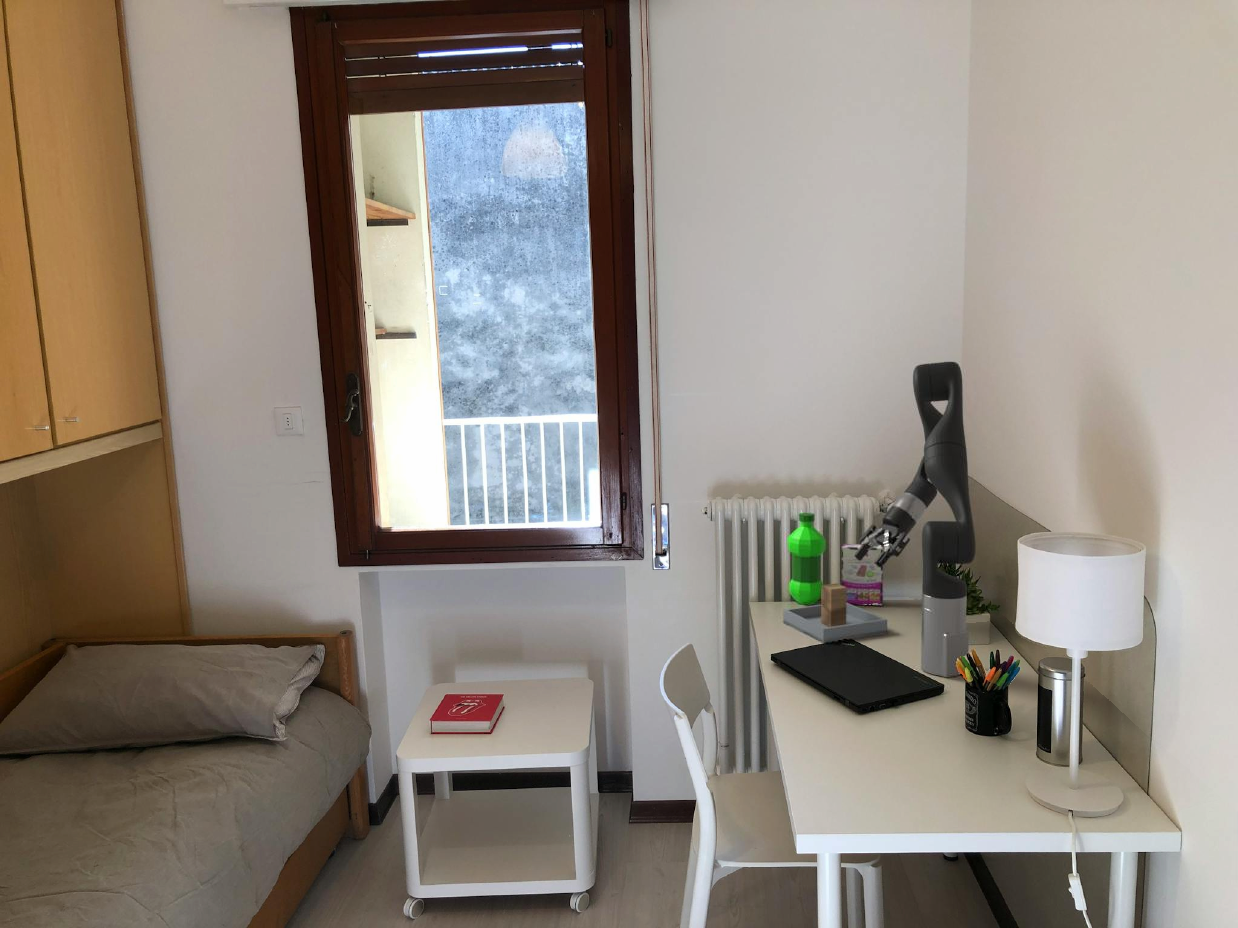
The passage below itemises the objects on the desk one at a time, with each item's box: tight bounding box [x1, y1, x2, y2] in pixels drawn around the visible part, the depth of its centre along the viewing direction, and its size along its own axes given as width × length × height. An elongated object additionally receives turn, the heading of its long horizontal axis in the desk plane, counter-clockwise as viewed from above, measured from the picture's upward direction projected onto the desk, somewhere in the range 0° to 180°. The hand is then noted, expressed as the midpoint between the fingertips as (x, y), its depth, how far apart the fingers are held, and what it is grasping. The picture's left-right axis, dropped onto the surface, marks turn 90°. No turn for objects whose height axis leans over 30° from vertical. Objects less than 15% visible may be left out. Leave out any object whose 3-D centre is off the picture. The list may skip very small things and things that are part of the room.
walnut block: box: [820, 583, 847, 627], centre depth 239 cm, size 4×4×10 cm
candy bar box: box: [841, 543, 884, 606], centre depth 261 cm, size 11×5×16 cm, turn 73°
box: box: [782, 603, 888, 644], centre depth 239 cm, size 19×19×4 cm
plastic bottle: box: [787, 512, 827, 605], centre depth 263 cm, size 10×10×25 cm
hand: (867, 561), depth 241 cm, fingers open, 8 cm apart
